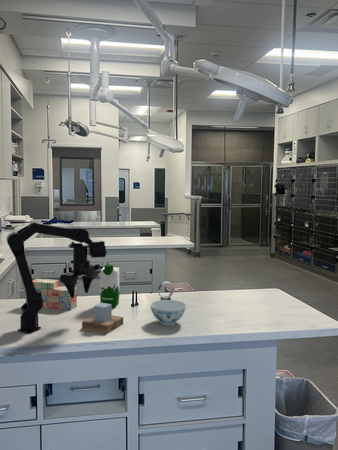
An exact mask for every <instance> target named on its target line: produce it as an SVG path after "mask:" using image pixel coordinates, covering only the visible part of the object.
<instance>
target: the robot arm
mask: <svg viewBox="0 0 338 450" xmlns="http://www.w3.org/2000/svg"><path fill="white" fill-rule="evenodd" d="M35 234H43V235H49V236H54V237H62V238H66V239H69V240H72V241H71V242H70V244H68V245H67V247H68V248H69V249H73V250H72V260H70V264H72V270H70V273H69V272H66V273H62V274H61V275H60V276H59V283H60V282H61V283H62V284H63V285H64V287H66V288H67V290H68V292H69V294H70V296H71V298H74V293H75V288H76V285H77V284H78V283H79V282H77V281H78V280H79V278H81V279H82V284H83V290H84V293H85V294H88V293H89V291H90V288H91V284H92V282H93V280H94V279H96V278H98V277H99V276H100V273H101V269H102V268H101V267H102V266H101V265H100V264H99V263H98V264H95V265H91V262H90V260H88V256H90V258H91V259H92V258H94V259H96V258H106V256H107V249H106V248H107V247H106V245H105V244H106V243H105V241H104V240H100V241H93V240H92V239H91V238H90V234H89V232H88V230H87V229H85V228H83V227H80V226H79V227H75V226H74V227H73V226H71V227H62V226H58V225H56V226H55V225H50V224H44V223H38V222H36V221H32V222H30V223H29V224H27V225H26V226H24V227H22V228H20V229H19V230H17V231H12V232H9V234H8V235H7V236H6V243H7V245H8V247H9V249H10V251H11V253H12V254H13V256H14V258H15V262H16V265H17V269H18V272H19V274H20V278H21V281H22V284H23V285H22V286H24V287H23V289H24V296H25V297H24V298H25V302H24V303H23V304H22V305H21V306H20V311H21V312H20V313H21V315H20V317H19V318H20V328H18V329H17V331H18V332H20V333H21V332H22V333H27V334H32V333H34V332H36V331H39V330H40V329H41V328H42V327H41V326H39V312H40V311H41V310H42V309H43V308H42V307H43V303H42V302H44V300H43V298H42V295H41V291H40V289H37V290H36V289H35V287H34V284H33V281H32V280H33V277H32V275H31V271H30V268H29V265H28V261H27V259H26V254H25V242H26V241H28V240H29V239H30V238H31V237H32V236H34V235H35ZM74 241H75V242H74ZM83 243H84V244H83Z"/></svg>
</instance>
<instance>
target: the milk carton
mask: <svg viewBox="0 0 338 450" xmlns="http://www.w3.org/2000/svg"><path fill="white" fill-rule="evenodd" d="M99 292H100V293H99V295H100V296H99V298H100V300H99V301H100V303H107V304H112V309H116V307H118V305H119V303H120V302H119V301H120V267H114V265H113V264H105V265H104V267H102V268H101V273H99Z"/></svg>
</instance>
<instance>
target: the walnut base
mask: <svg viewBox="0 0 338 450" xmlns="http://www.w3.org/2000/svg"><path fill="white" fill-rule="evenodd" d="M81 324H82V325H81V329H82V330H85V331H92V332H96V333H97V332H98V333H102V334H109V333H112V331H115V330H116V329H117V328H120V327H121V326H123V325H124V317H123V316H119V315H112V318H111V319H110V320H108V321H106V322H101V321H96V320H94V315H92V316H90V317H89V318H86V319H84V320H82V321H81Z"/></svg>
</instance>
